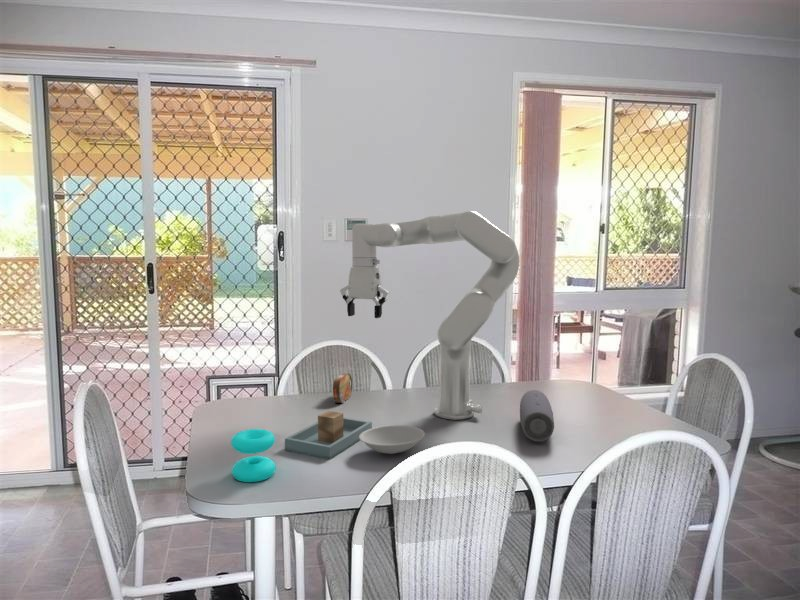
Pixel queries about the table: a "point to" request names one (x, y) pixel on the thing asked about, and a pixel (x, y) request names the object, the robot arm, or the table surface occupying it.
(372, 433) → the dish
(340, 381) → the tin
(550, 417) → the bluetooth speaker
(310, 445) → the tray
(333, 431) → the block
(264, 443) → the donuts
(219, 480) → the table surface
